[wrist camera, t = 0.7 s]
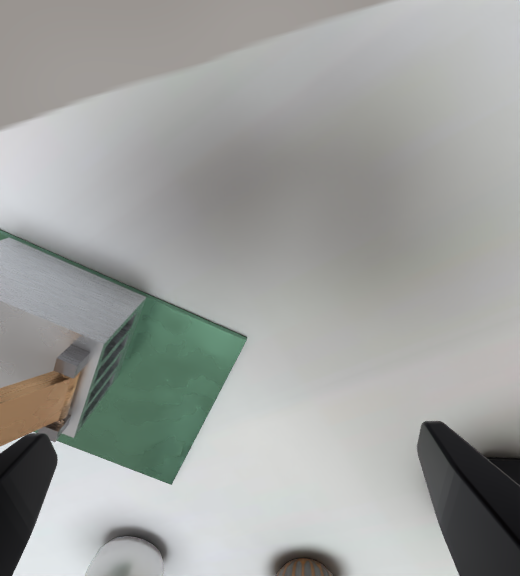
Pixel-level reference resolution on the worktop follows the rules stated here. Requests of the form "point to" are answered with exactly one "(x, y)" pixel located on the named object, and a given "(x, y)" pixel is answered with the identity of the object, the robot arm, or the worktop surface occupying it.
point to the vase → (304, 568)
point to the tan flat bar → (34, 404)
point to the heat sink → (111, 358)
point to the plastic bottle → (127, 559)
